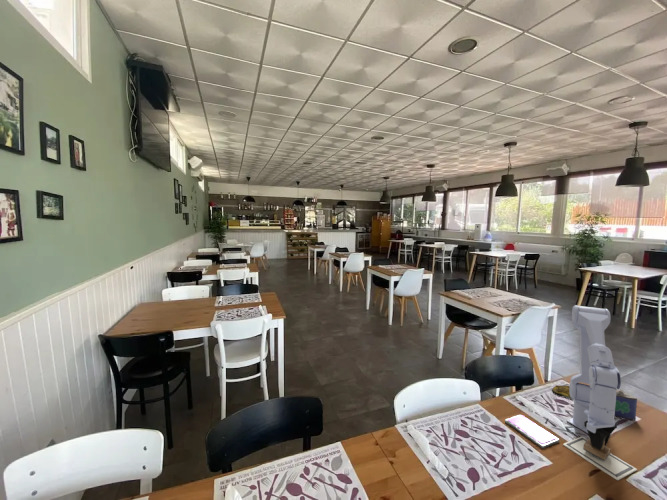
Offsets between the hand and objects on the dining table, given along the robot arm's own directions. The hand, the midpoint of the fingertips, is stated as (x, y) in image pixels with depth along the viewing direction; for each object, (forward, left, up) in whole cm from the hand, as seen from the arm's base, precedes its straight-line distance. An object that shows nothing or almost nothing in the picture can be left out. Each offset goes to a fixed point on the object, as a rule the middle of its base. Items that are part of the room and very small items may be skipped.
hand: (598, 445), depth 87 cm
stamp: (0, 0, -2) cm, 3 cm away
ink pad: (+9, -15, -4) cm, 18 cm away
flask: (-32, -9, -4) cm, 33 cm away
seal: (-32, -25, -4) cm, 41 cm away
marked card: (0, 0, -4) cm, 4 cm away
